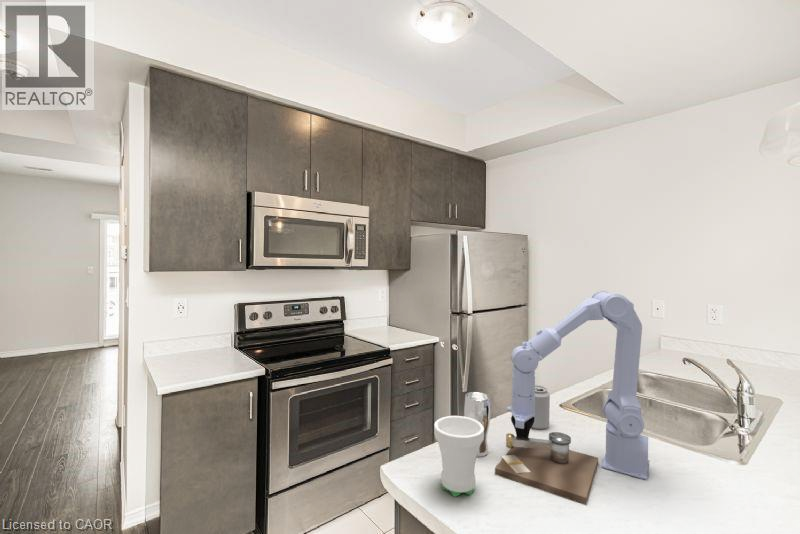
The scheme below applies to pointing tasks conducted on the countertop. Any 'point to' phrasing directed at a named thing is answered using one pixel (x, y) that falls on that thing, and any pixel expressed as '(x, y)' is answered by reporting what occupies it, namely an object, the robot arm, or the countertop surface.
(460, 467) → the cup
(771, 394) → the countertop surface
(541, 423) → the can
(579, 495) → the brown flat wooden board
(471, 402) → the beer glass
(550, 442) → the grey bar with knobs
